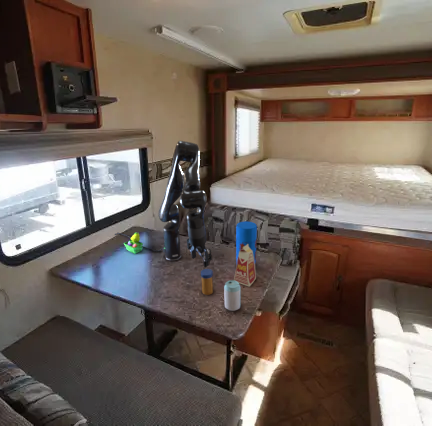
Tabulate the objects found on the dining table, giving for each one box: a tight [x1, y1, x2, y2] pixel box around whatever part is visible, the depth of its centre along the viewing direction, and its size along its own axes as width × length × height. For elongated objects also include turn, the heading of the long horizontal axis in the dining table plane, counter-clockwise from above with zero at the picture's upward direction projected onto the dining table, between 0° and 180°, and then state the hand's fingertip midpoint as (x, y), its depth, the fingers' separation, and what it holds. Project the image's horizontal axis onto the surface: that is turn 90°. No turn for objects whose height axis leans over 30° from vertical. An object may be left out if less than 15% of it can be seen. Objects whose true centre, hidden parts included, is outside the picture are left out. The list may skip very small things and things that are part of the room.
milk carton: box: [233, 244, 257, 287], centre depth 143 cm, size 9×9×20 cm
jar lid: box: [200, 268, 214, 279], centre depth 134 cm, size 6×6×2 cm
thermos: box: [235, 221, 258, 266], centre depth 154 cm, size 11×11×25 cm
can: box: [223, 279, 241, 312], centre depth 124 cm, size 7×7×12 cm
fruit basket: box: [123, 232, 144, 255], centre depth 180 cm, size 11×9×11 cm
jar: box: [201, 276, 214, 296], centre depth 136 cm, size 5×5×11 cm
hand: (200, 262), depth 130 cm, fingers open, 8 cm apart
